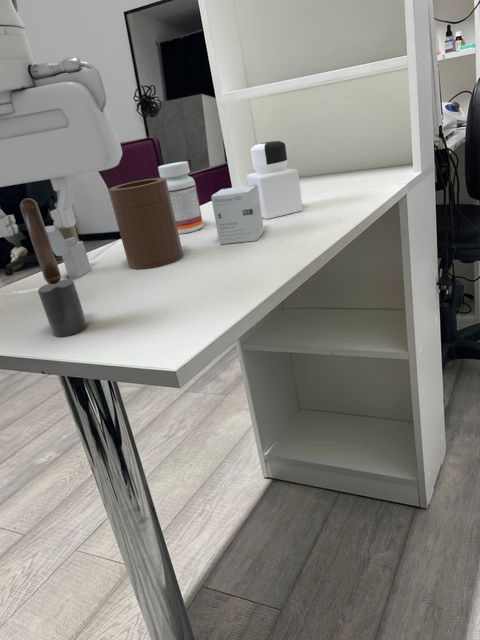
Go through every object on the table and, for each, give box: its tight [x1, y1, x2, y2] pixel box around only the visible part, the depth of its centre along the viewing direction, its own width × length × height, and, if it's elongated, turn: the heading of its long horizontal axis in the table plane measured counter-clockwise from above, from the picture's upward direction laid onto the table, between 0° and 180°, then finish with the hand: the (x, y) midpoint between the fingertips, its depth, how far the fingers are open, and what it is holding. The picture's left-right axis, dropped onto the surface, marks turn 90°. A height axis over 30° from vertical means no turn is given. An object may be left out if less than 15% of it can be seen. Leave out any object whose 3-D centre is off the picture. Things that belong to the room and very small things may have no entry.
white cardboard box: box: [211, 185, 265, 245], centre depth 82 cm, size 6×6×7 cm
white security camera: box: [246, 140, 304, 220], centre depth 95 cm, size 7×7×12 cm
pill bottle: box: [157, 161, 204, 235], centre depth 94 cm, size 6×6×11 cm
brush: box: [19, 197, 88, 338], centre depth 55 cm, size 4×4×14 cm
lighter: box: [45, 224, 92, 280], centre depth 76 cm, size 7×2×8 cm, turn 172°
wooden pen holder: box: [107, 177, 184, 270], centre depth 77 cm, size 8×8×11 cm
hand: (37, 231), depth 53 cm, fingers open, 5 cm apart
